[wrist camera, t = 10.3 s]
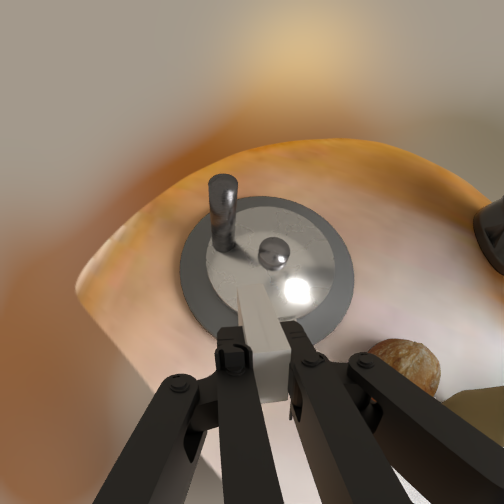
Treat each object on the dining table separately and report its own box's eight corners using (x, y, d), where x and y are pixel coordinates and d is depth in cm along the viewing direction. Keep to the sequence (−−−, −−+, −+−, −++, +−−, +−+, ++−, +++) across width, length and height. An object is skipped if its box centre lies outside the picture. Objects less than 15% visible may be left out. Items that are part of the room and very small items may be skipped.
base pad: (249, 179, 38) (252, 158, 35) (373, 255, 33) (387, 238, 30) (145, 280, 29) (135, 264, 26) (295, 392, 24) (305, 391, 21)
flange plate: (312, 209, 34) (336, 148, 26) (350, 329, 27) (402, 292, 18) (202, 217, 32) (196, 151, 24) (216, 352, 25) (209, 325, 16)
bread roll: (407, 364, 29) (440, 324, 25) (422, 431, 21) (467, 397, 16) (343, 360, 30) (372, 316, 25) (350, 437, 21) (392, 405, 17)
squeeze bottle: (446, 458, 19) (558, 452, 3) (408, 445, 21) (537, 442, 5) (467, 404, 23) (574, 372, 7) (433, 385, 24) (553, 343, 9)
